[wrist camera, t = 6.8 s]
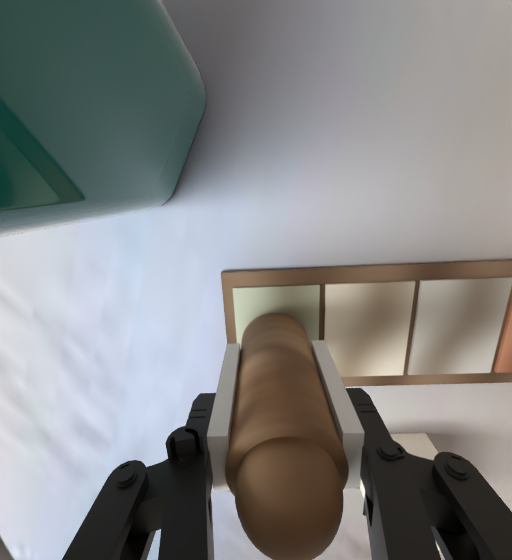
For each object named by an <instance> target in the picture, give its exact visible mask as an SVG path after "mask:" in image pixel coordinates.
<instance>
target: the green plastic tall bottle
mask: <svg viewBox="0 0 512 560" xmlns="http://www.w3.org/2000/svg"><path fill="white" fill-rule="evenodd" d="M204 109H205V87H204V84H203V81H202V78H201V75H200V72H199V69H198V68H197V66H196V64H195V62H194V60H193V58H192V56H191V55H190V53H189V51H188V49H187V47H186V45H185V43H184V42H183V40H182V38H181V36H180V34H179V32H178V30H177V29H176V27H175V25H174V23H173V21H172V19H171V17H170V15H169V14H168V12H167V10H166V8H165V6H164V4H163V2H162V1H161V0H0V237H3V236H9V235H14V234H20V233H25V232H31V231H36V230H42V229H47V228H52V227H58V226H63V225H69V224H74V223H80V222H85V221H91V220H96V219H102V218H107V217H113V216H118V215H124V214H129V213H135V212H140V211H146V210H150V209H153V208H155V207H158V206H161V205H163V204H164V203H165V202H166V201H167V200H168V199H169V198H170V197H171V196H172V194H173V192H174V189H175V186H176V184H177V181H178V178H179V176H180V173H181V170H182V168H183V165H184V162H185V160H186V157H187V154H188V152H189V149H190V146H191V144H192V141H193V138H194V136H195V133H196V130H197V128H198V125H199V122H200V120H201V117H202V114H203V112H204Z"/></svg>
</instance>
